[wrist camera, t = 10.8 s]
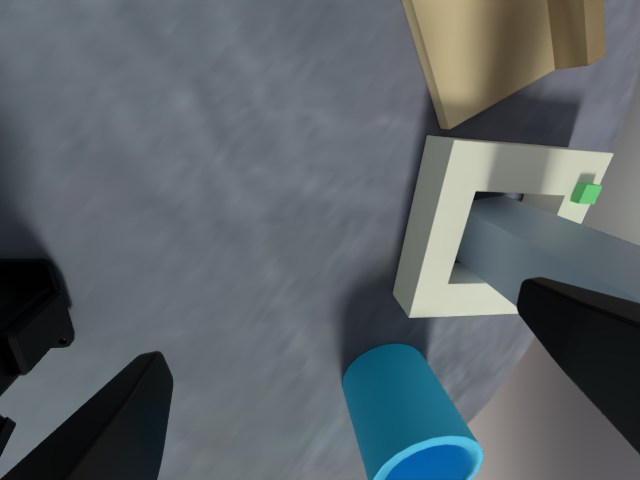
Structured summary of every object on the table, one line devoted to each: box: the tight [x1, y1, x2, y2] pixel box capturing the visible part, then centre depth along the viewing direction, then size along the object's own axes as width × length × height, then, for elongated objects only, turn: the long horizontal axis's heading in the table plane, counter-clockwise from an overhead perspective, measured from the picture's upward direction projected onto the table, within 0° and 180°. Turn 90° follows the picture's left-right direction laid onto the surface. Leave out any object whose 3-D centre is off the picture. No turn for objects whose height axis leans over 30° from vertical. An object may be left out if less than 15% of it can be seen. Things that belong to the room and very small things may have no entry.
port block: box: [393, 135, 613, 318], centre depth 21 cm, size 11×12×4 cm
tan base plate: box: [402, 0, 605, 130], centre depth 16 cm, size 8×8×3 cm
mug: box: [342, 343, 483, 480], centre depth 25 cm, size 12×8×8 cm
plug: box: [456, 196, 640, 306], centre depth 16 cm, size 4×4×14 cm
